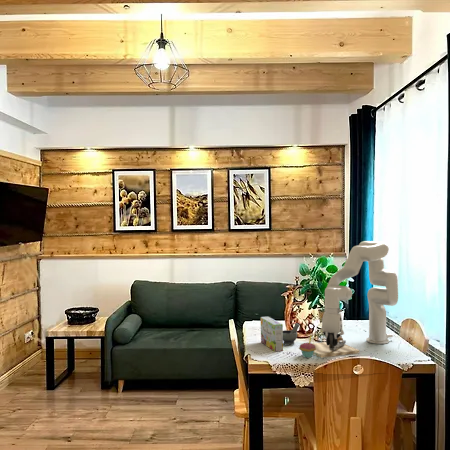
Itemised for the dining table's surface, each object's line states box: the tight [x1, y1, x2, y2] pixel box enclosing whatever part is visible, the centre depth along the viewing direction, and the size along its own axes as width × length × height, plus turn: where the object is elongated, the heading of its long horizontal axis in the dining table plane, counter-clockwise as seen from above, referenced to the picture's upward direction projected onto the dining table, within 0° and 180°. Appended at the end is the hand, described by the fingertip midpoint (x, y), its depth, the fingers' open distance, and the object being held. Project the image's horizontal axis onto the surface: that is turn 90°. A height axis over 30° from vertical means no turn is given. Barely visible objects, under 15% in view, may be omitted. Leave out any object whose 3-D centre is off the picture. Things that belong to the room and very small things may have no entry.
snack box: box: [260, 316, 284, 353], centre depth 298 cm, size 21×6×15 cm, turn 18°
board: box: [312, 341, 361, 359], centre depth 290 cm, size 24×22×2 cm
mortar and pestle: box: [283, 322, 301, 346], centre depth 304 cm, size 11×9×12 cm
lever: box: [329, 332, 347, 351], centre depth 289 cm, size 20×3×10 cm, turn 148°
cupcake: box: [298, 334, 316, 358], centre depth 278 cm, size 9×8×12 cm
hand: (331, 345), depth 281 cm, fingers closed on lever, 3 cm apart
